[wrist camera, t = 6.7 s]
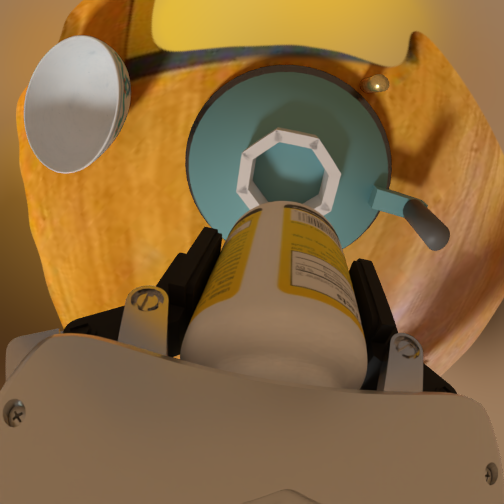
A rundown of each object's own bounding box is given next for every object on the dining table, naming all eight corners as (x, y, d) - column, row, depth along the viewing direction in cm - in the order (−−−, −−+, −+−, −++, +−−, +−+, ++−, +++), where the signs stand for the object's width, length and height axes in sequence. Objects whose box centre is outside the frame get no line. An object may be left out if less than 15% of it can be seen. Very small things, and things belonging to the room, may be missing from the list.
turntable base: (409, 94, 22) (427, 93, 18) (355, 273, 33) (361, 296, 29) (202, 50, 22) (186, 42, 18) (183, 238, 34) (169, 257, 30)
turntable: (437, 120, 21) (486, 131, 13) (383, 277, 31) (403, 328, 24) (205, 63, 22) (168, 48, 14) (188, 237, 32) (157, 281, 25)
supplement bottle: (238, 298, 15) (188, 476, 7) (218, 203, 12) (94, 396, 4) (339, 294, 14) (358, 485, 5) (340, 193, 11) (417, 415, 3)
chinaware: (86, 174, 31) (48, 194, 25) (54, 85, 25) (14, 90, 18) (176, 124, 27) (141, 133, 20) (136, 21, 20) (97, 7, 14)
